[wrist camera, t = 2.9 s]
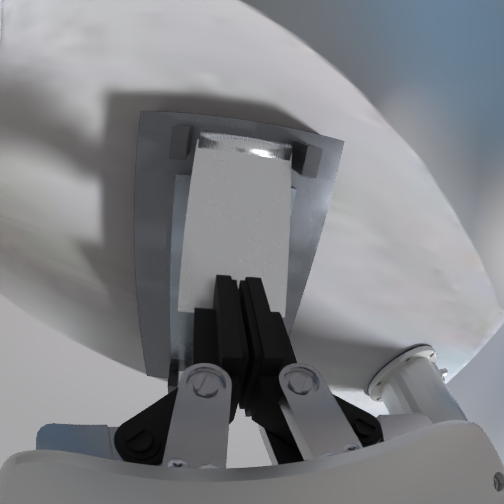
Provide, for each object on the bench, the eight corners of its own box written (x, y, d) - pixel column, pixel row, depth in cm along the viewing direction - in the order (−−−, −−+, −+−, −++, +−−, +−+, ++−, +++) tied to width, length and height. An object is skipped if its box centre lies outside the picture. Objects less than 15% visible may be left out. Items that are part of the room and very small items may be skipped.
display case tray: (321, 135, 19) (379, 151, 12) (265, 352, 29) (279, 416, 22) (155, 111, 17) (116, 110, 9) (152, 345, 26) (141, 411, 19)
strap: (198, 137, 14) (199, 126, 13) (286, 150, 15) (293, 140, 14) (178, 309, 13) (177, 311, 12) (279, 315, 14) (286, 318, 13)
